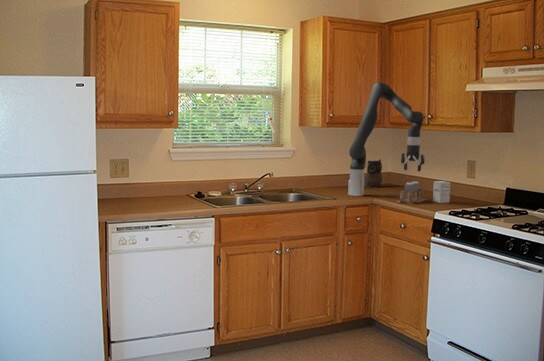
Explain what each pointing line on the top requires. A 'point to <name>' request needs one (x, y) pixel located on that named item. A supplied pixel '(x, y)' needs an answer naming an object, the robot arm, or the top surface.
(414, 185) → the frame bar
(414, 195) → the display stand
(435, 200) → the supplement box
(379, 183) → the owl
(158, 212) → the top surface
